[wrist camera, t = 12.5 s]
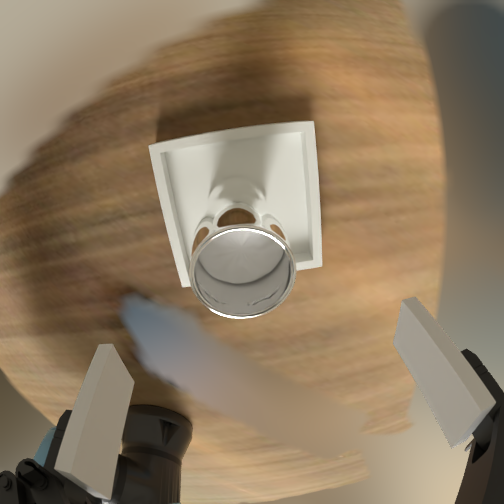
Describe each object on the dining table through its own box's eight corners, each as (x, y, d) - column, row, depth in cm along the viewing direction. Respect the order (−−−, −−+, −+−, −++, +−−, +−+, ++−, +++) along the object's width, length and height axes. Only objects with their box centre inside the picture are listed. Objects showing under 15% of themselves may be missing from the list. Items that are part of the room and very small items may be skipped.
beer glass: (195, 182, 30) (168, 240, 16) (260, 164, 30) (287, 208, 16) (214, 241, 33) (206, 331, 20) (275, 224, 33) (307, 306, 19)
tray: (185, 273, 36) (182, 287, 33) (155, 142, 29) (148, 145, 26) (315, 254, 36) (322, 266, 33) (305, 120, 29) (313, 120, 26)
